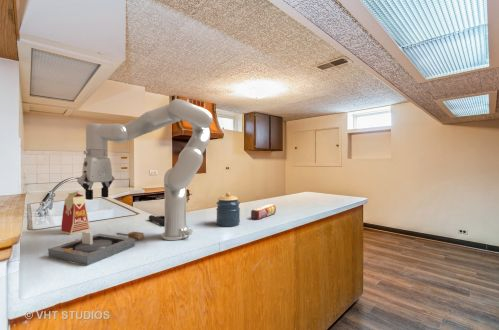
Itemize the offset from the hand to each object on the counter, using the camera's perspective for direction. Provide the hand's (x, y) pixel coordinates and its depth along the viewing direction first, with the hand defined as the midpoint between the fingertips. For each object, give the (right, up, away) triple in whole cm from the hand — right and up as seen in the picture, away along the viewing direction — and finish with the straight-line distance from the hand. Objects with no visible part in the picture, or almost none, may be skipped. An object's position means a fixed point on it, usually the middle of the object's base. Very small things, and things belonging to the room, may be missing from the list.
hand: (97, 197), depth 101 cm
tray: (+3, -20, -6) cm, 21 cm away
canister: (+50, -19, +36) cm, 65 cm away
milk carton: (-24, -19, +21) cm, 37 cm away
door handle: (+15, -20, +42) cm, 48 cm away
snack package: (+71, -19, +55) cm, 92 cm away
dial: (+3, -18, -6) cm, 20 cm away
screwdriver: (+8, -20, +11) cm, 24 cm away
